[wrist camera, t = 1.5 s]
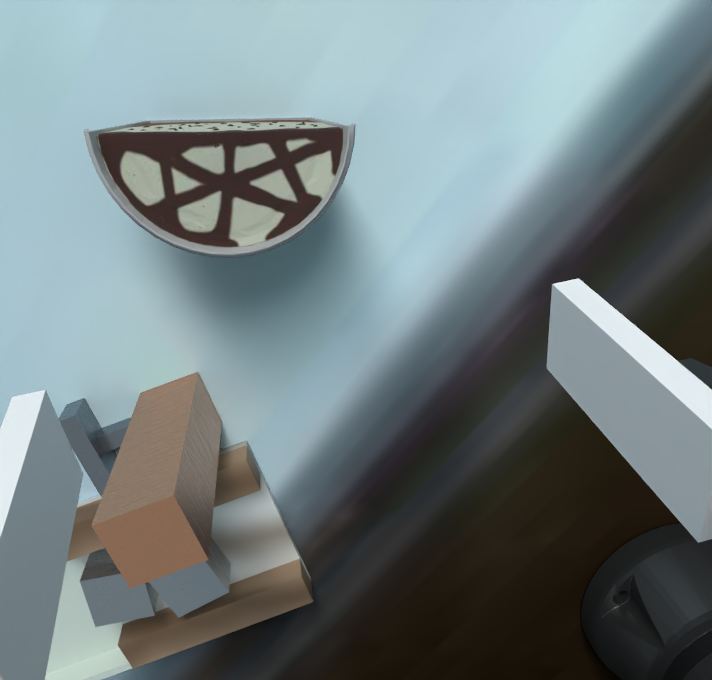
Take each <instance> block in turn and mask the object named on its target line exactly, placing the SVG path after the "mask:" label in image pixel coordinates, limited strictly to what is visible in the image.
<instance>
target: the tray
mask: <svg viewBox="0 0 712 680" xmlns="http://www.w3.org/2000/svg"><path fill="white" fill-rule="evenodd" d="M84 568H85V565H84V563H83V562H82V560H81V559H80V557H78V558H76V559H73V560H70V561H68V562H67V563H66V568H65V574H64V579H63V584H62V590H61V595H60V601H59V606H58V611H57V617H56V622H55V628H54V633H53V638H52V644H51V649H50V654H49V660H48V665H47V671H46V676H45V680H102V679H105V678H107V677H110V676H113V675H115V674H118V673H121V672H124V671H126V670H129V669H132V666H131V665H130V663H129V662H128V660H127V659H126V657H125V656H124V654H123V653H122V651H121V650H120V648H119V647H118V642H119V638H120V634H121V629H122V625H123V624H122V622H119V623H114V624H109V625H104V626H99V627H95V624H94V621H93V619H92V616H91V613H90V610H89V607H88V604H87V601H86V598H85V595H84V593H83V590H82V587H81V584H80V579H81V576H82V573H83V570H84Z"/></svg>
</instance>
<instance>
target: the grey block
mask: <svg viewBox="0 0 712 680" xmlns="http://www.w3.org/2000/svg"><path fill="white" fill-rule="evenodd" d="M80 584H81V587H82V590H83V593H84V595H85V598H86V601H87V604H88V607H89V610H90V613H91V616H92V619H93V621H94V624H95V627H99V626H104V625H109V624H114V623H119V622H125V621H130V620H135V619H140V618H145V617H150V616H155V612H156V606H157V601H158V596H159V594H158V593H157V591H156V590H155V589H154V588H153V587H152V586H151V584H150V583H149V582H147V583H145V584H142V585H139V586H137V587H134V588H131V589H130V588H129V586H128V584H127V583H126V581H125V579H124V578H123V576H122V575H121V573H120V571H119V570H118V568H117V567H116V565H115V563H114V562H113V560H112V559H111V557H110V555H109V554H108V552H107V550H106V549H101V550H97V551H95V552H92V553H90V554H89V556H88V559H87V562H86V565H85V568H84V570H83V573H82V576H81V579H80Z"/></svg>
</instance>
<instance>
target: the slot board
mask: <svg viewBox="0 0 712 680" xmlns="http://www.w3.org/2000/svg"><path fill="white" fill-rule="evenodd" d="M101 498H102V497H101V496H100V495H98V496H95V497H92V498H90V499H87V500H84V501H82V502H79V503H78V504H77V509H76V514H75V520H74V525H73V531H72V536H71V541H70V547H69V552H68V558H67V562H68V561H70V560H73V559H76V558H78V557H80V559H81V560H82V562H83V563H84V565H86V562H87V559H88V556H89V554H90V553H92V552H95V551H97V550H101V549H105V547H104V546H103V544H102V542H101V541H100V539H99V538H98V536H97V534H96V533H95V531H94V529H93V528H92V526H91V525H92V522H93V520H94V517H95V514H96V511H97V509H98V506H99V503H100V501H101ZM211 537H212V539H213V540H214V541H215V543H216V544H217V545H218V547H219V548H220V549H221V551H222V552H223V553H224V555H225V556H226V557H227V559H228V560H229V561H230V563H231V567H230V587H229V593H227V594H225V595H223V596H221V597H219V598H217V599H215V600H213V601H211V602H209V603H207V604H205V605H203V606H201V607H199V608H197V609H195V610H193V611H191V612H189V613H187V614H185V615H183V616H181V617H179V618H178V616H177V615H176V614H175V613H174V612H173V610H172V609H171V608H170V607H169V606H168V605H167V603H166V602H165V601H164V600H163V599H162V597H161V596H160V595H159V596H158V601H157V606H156V612H155V616H150V617H145V618H140V619H135V620H130V621H125V622H122V624H123V625H122V629H121V634H120V638H119V642H118V647H119V648H120V650H121V651H122V653H123V654H124V656H125V657H126V659H127V660H128V662H129V663H130V665H131V666H132V668H133V669H134V668H137V667H140V666H142V665H145V664H148V663H150V662H153V661H156V660H159V659H161V658H164V657H167V656H169V655H172V654H175V653H177V652H180V651H183V650H185V649H188V648H191V647H193V646H196V645H199V644H202V643H204V642H207V641H210V640H212V639H215V638H218V637H220V636H223V635H226V634H228V633H231V632H234V631H236V630H239V629H242V628H245V627H247V626H250V625H253V624H255V623H258V622H261V621H263V620H266V619H269V618H271V617H274V616H277V615H279V614H282V613H285V612H288V611H290V610H293V609H296V608H298V607H301V606H304V605H306V604H309V603H312V602H313V594H312V585H311V577H310V575H309V573H308V571H307V569H306V566H305V564H304V562H303V560H302V558H301V556H300V554H299V551H298V549H297V547H296V545H295V543H294V541H293V539H292V536H291V534H290V532H289V530H288V528H287V526H286V524H285V521H284V519H283V517H282V515H281V513H280V511H279V509H278V506H277V504H276V502H275V500H274V498H273V496H272V494H271V491H270V489H269V487H268V485H267V483H266V481H265V479H264V476H263V474H262V472H261V470H260V468H259V466H258V464H257V461H256V459H255V457H254V455H253V453H252V451H251V449H250V446H249V444H248V442H247V441H245V442H242V443H239V444H236V445H234V446H231V447H228V448H226V449H223V450H220V451H219V458H218V468H217V478H216V489H215V499H214V510H213V520H212V530H211Z"/></svg>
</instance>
